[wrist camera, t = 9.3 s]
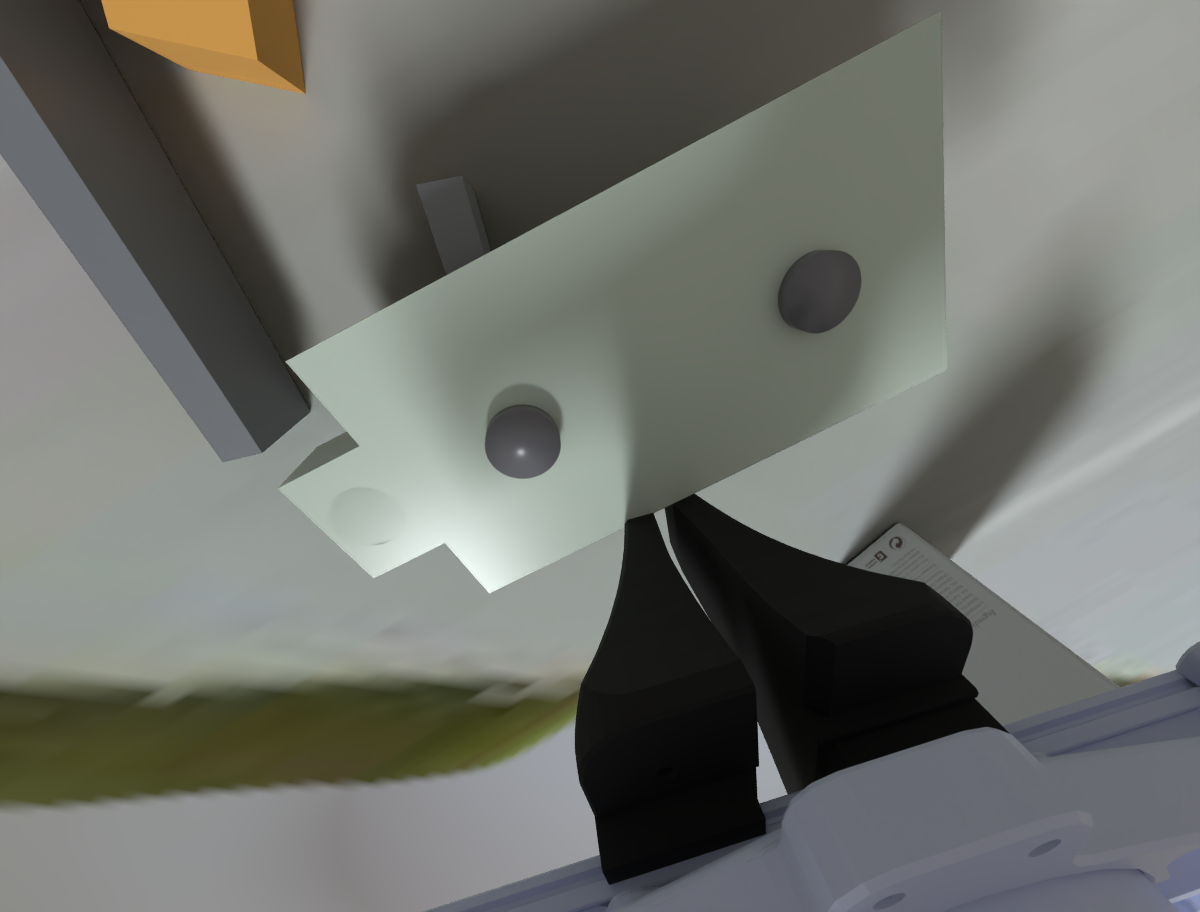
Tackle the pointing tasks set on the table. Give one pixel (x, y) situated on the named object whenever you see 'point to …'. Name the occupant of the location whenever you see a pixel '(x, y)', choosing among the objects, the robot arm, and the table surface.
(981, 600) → the skincare box
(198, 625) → the table surface
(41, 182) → the long grey beam
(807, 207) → the cover
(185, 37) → the orange cuboid brick
